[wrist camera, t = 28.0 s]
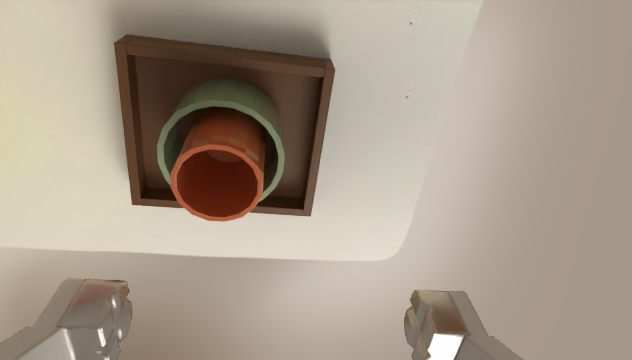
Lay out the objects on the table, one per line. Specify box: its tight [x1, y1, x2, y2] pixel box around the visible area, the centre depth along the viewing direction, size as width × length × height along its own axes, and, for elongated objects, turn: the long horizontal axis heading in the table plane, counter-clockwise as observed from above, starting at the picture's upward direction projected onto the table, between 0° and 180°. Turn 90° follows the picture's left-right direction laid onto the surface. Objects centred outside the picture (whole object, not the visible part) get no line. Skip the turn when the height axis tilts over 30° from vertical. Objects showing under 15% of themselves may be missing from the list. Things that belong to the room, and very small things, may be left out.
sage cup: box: [157, 78, 285, 201], centre depth 34 cm, size 10×10×6 cm
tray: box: [114, 35, 335, 216], centre depth 36 cm, size 17×15×3 cm
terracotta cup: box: [170, 106, 266, 221], centre depth 33 cm, size 6×6×9 cm
